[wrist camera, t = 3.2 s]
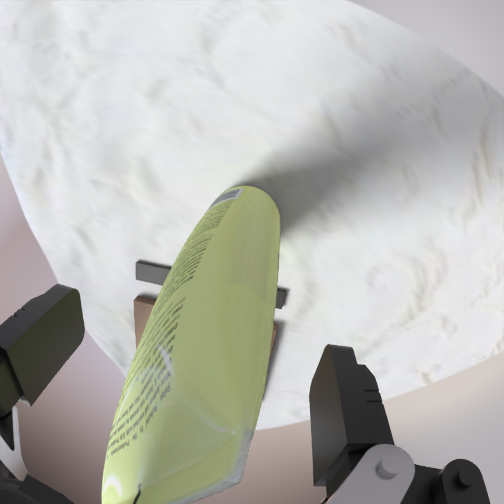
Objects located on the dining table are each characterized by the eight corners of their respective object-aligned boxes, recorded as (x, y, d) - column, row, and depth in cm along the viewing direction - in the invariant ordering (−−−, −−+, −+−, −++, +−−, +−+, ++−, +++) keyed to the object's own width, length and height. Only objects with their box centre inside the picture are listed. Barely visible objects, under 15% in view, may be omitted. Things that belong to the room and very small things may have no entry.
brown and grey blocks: (285, 290, 23) (285, 295, 23) (256, 402, 28) (255, 408, 27) (137, 261, 24) (133, 265, 23) (142, 376, 28) (139, 381, 28)
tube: (284, 257, 22) (279, 562, 4) (216, 262, 23) (97, 528, 5) (277, 179, 20) (246, 480, 2) (204, 188, 21) (-38, 396, 3)
